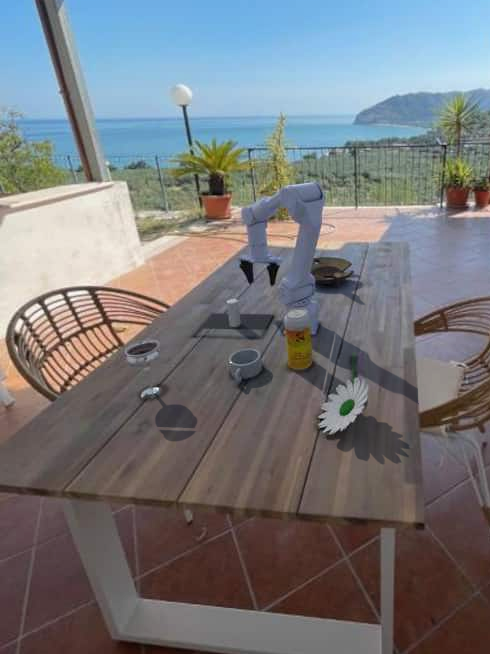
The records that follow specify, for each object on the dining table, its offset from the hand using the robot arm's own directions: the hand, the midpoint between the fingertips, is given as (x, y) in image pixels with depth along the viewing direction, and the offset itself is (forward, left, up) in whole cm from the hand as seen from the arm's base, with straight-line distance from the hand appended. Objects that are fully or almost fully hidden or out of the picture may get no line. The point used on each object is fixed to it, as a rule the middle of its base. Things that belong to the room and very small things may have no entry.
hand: (262, 283), depth 126 cm
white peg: (+6, +11, -9) cm, 15 cm away
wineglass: (+14, +43, -10) cm, 46 cm away
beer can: (-18, +31, -10) cm, 37 cm away
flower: (-32, +42, -10) cm, 54 cm away
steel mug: (-5, +35, -9) cm, 37 cm away
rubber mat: (+6, +11, -9) cm, 16 cm away
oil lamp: (-17, -26, -10) cm, 33 cm away
